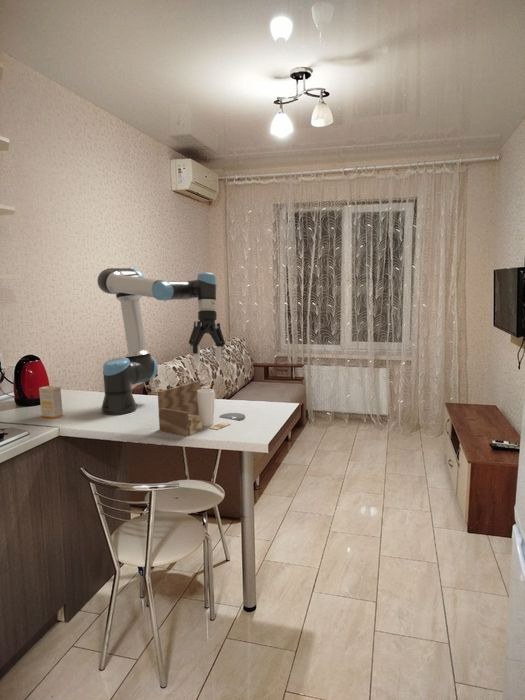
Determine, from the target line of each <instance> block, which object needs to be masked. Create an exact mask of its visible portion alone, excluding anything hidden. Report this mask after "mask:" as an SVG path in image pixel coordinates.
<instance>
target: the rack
mask: <svg viewBox="0 0 525 700" xmlns="http://www.w3.org/2000/svg"><path fill="white" fill-rule="evenodd" d="M199 389H201V385H200V380H196V381H192V382H188V383H186V384H183V385H179V386H175V387H172V388H168V389H164V390H161V391H157V406H158V422H159V423H158V424H159V425H158V426H159V431H160V432H164V433H168V434H173V435H178V436H184V437H188V436H190V435H189V418H188V414H190V415H199V410H198V402H197V390H199ZM203 430H204V428H202V430H201V431H203Z"/></svg>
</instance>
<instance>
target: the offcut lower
mask: <svg viewBox="0 0 525 700" xmlns="http://www.w3.org/2000/svg"><path fill="white" fill-rule="evenodd" d="M202 429H203V426H202V422H199V423H197V424H195V425H193V426H189V436H191V435H193V434H196V433H198V432H200V431H203V430H202Z"/></svg>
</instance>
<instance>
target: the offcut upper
mask: <svg viewBox="0 0 525 700" xmlns="http://www.w3.org/2000/svg"><path fill="white" fill-rule="evenodd" d="M188 418H189V426H193V425H195V424H197V423H199V422H200V416H199V415H190V414H188Z"/></svg>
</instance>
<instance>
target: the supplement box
mask: <svg viewBox="0 0 525 700" xmlns="http://www.w3.org/2000/svg"><path fill="white" fill-rule="evenodd" d="M38 391H39V402H40V411H41V417H42V418H50V419H57V418H60V417H63V416H64V414H63V411H64V410H63V403H62V402H63V401H62V389H61V387H60V386H53V385H46V386H42V387H39V388H38Z"/></svg>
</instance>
